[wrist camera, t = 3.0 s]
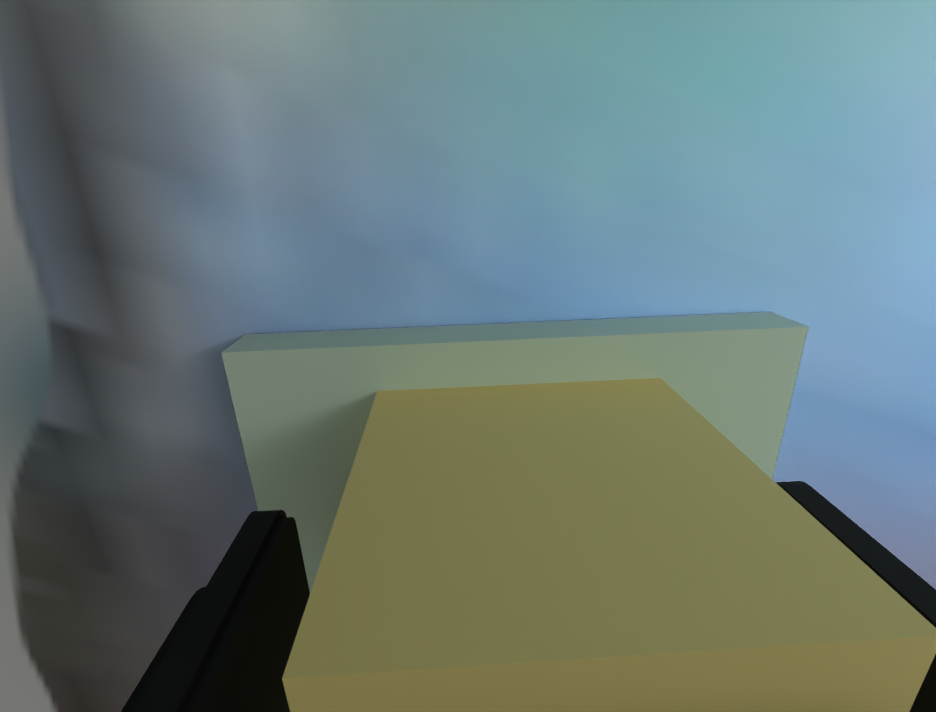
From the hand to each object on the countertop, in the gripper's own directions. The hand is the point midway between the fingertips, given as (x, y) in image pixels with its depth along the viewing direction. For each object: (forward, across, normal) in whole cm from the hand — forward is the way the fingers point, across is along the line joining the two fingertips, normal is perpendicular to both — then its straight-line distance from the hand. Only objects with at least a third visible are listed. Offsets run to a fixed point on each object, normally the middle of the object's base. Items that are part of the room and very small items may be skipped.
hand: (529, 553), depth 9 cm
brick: (+2, 0, 0) cm, 2 cm away
